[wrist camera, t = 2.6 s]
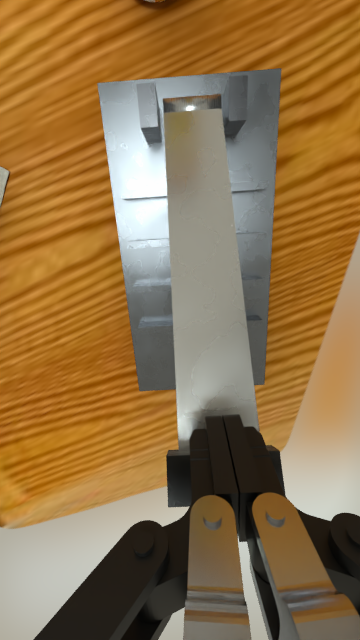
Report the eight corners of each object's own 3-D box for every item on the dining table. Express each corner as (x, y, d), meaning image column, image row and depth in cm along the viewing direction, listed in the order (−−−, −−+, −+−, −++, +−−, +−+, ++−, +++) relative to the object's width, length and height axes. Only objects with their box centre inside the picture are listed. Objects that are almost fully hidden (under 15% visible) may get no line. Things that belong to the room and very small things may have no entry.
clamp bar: (224, 110, 20) (229, 72, 18) (269, 482, 14) (286, 502, 11) (157, 116, 20) (153, 78, 18) (172, 486, 14) (168, 507, 11)
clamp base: (272, 81, 22) (304, 33, 17) (259, 374, 32) (276, 408, 26) (104, 94, 22) (78, 52, 17) (141, 381, 32) (133, 415, 27)
